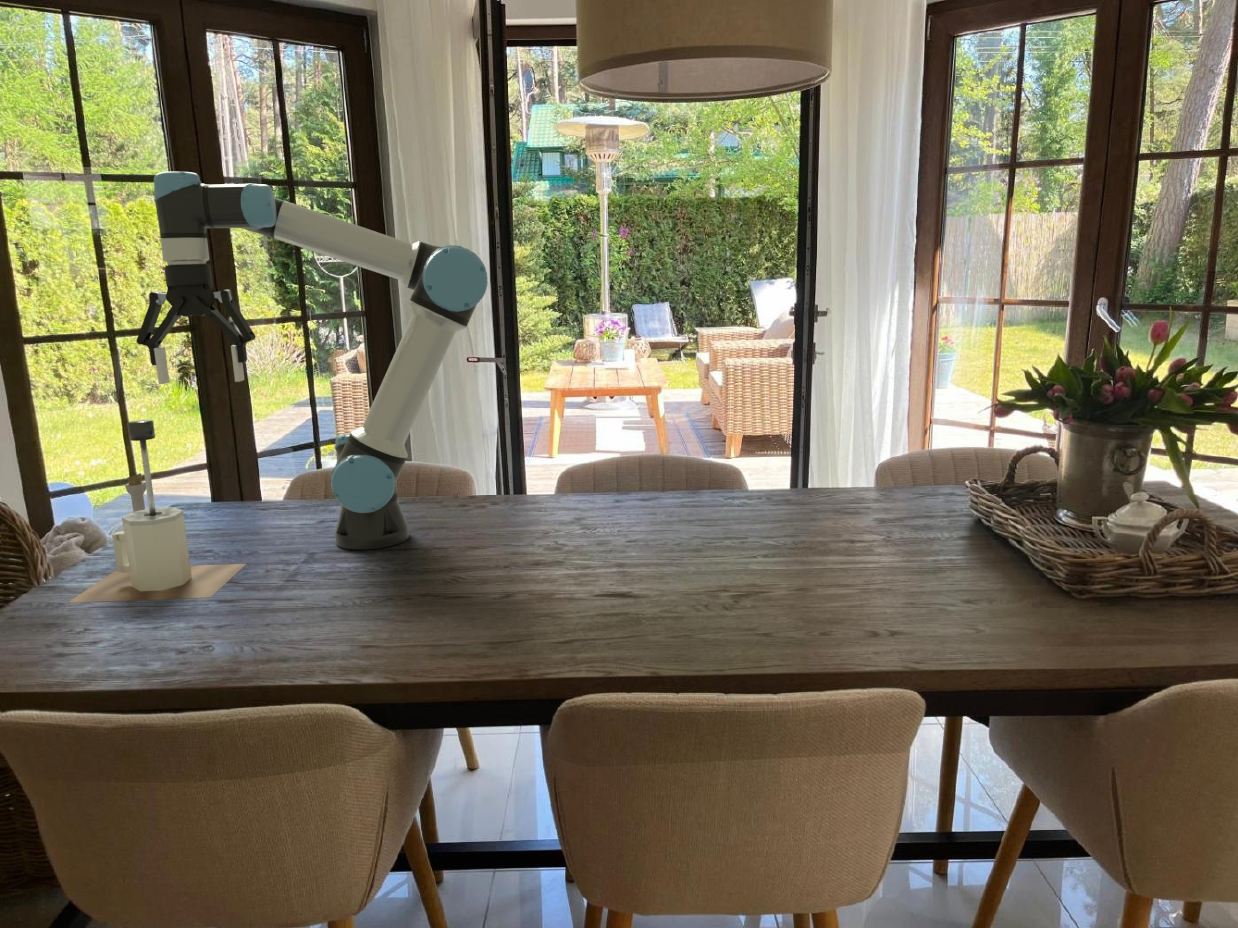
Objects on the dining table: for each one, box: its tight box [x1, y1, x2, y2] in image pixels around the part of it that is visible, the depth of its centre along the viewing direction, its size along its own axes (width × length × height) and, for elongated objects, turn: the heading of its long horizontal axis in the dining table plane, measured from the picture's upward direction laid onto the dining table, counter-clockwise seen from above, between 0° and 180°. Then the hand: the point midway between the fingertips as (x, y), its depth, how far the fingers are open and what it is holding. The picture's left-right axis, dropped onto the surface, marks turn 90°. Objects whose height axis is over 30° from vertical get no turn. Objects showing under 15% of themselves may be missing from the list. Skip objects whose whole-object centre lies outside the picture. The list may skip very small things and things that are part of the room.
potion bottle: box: [124, 473, 146, 512], centre depth 180 cm, size 9×9×18 cm
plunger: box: [127, 419, 156, 516], centre depth 160 cm, size 4×4×20 cm
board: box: [67, 563, 247, 604], centre depth 165 cm, size 24×18×2 cm
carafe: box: [111, 506, 192, 591], centre depth 163 cm, size 12×9×13 cm
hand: (202, 382), depth 166 cm, fingers open, 13 cm apart
